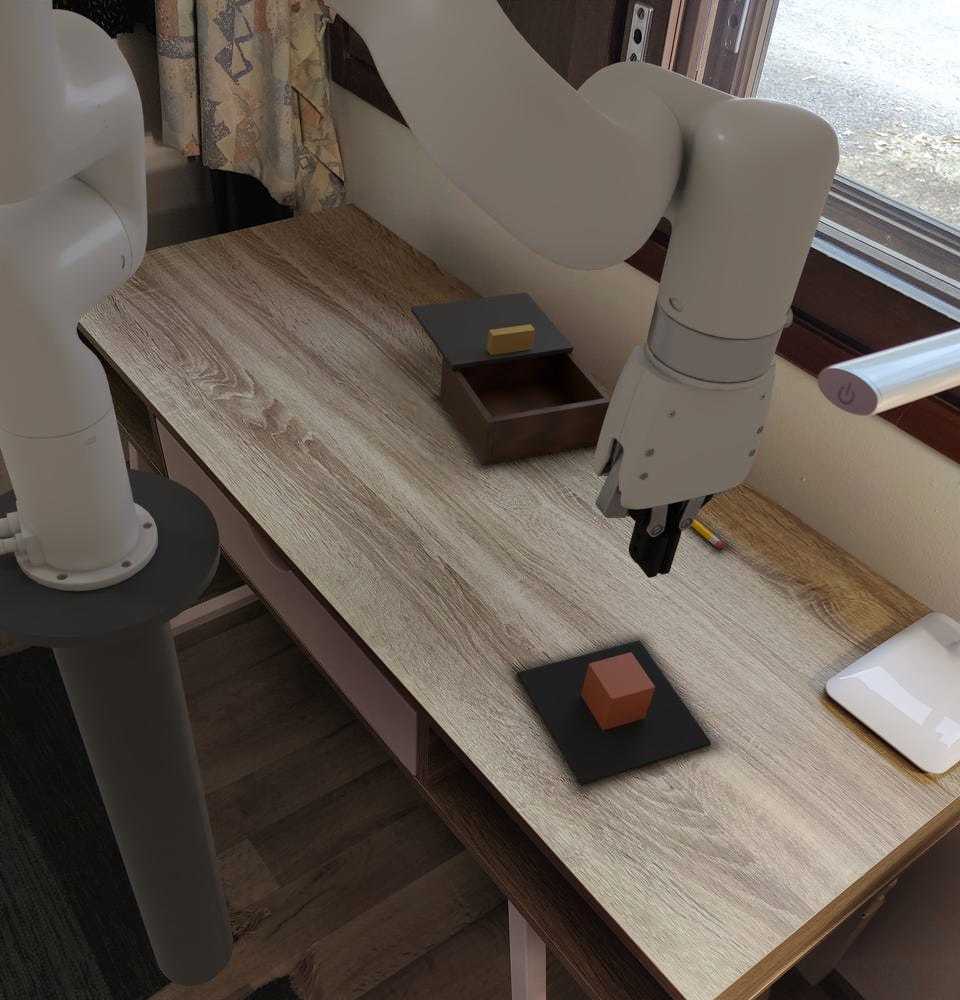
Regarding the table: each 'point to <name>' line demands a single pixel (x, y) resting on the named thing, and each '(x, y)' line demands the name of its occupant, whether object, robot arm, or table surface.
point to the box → (525, 406)
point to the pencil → (707, 534)
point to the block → (617, 691)
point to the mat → (619, 746)
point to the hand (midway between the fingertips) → (648, 563)
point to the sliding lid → (490, 330)
